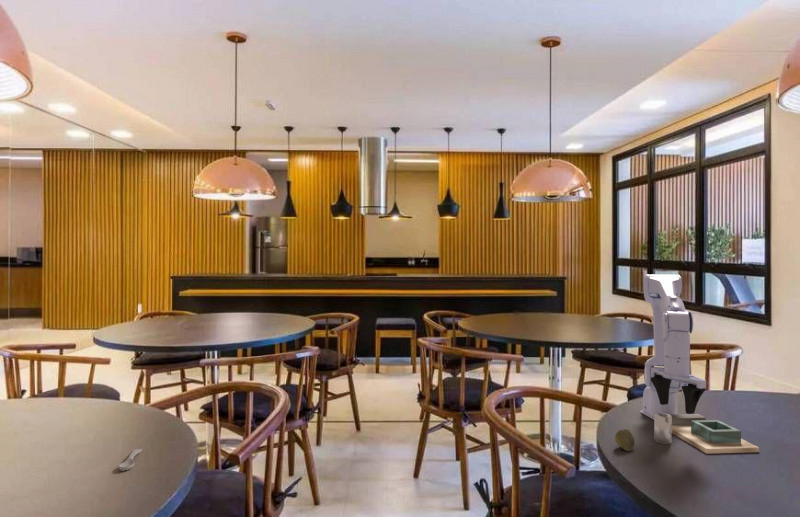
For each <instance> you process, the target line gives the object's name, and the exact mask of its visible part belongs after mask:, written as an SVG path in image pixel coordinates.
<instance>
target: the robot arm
mask: <svg viewBox="0 0 800 517" xmlns="http://www.w3.org/2000/svg"><path fill="white" fill-rule="evenodd" d="M682 281H683V279H682V276H680V274H648V273H646V274H645V275H644V276H643V298H644V301H645V302H646V303H649V304H650V306H651V309H652V321H653V322H652V325H653V327H652V328H653V349H654V350H653V351H654V354H653V355H654V356H652V357H651V358H649V359H647V360H646V362H645V363H644V374H643V375H644V384H645V385H646V387H645V388H644V390H643V394H642V410H640V413H641V414H643V415H644V416H646V417H648V418H650V419H652V420H653V421H654V414H655V413H666V414H669V415H671V414H678V393H679V391H681V390H682V392H683V397H684V410H685V414H695V411H696V408H697V405H698V402H699V400H701V397H702V395H703V394H704V392H705V391H706V389H707V380H706V379H704V378H699V377H697V376H695V375H692V374H691V373H690V372H691V371H690V370H691V367H690V366H691V364H690V363H691V362H690V361H691V353H690V352H691V334H693V331H694V318H693V315H692V311H690V310H687V309H686V307H685V304H684V302H683V300H682V299H681V298H680V297H681V296H680V295H681V293H682V289H683V282H682ZM684 384H685V385H684Z"/></svg>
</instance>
